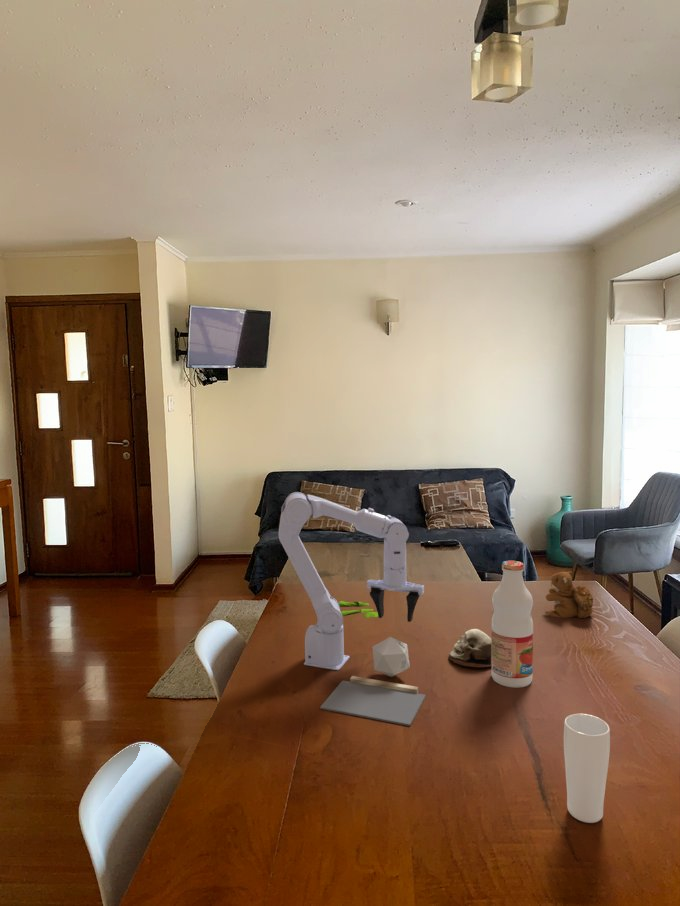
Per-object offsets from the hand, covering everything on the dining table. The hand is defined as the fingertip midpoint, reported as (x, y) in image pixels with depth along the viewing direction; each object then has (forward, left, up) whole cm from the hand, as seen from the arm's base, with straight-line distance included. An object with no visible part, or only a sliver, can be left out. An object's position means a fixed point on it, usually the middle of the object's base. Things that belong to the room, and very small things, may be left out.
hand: (395, 618), depth 154 cm
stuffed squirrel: (+41, +46, -11) cm, 63 cm away
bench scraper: (+2, -23, -10) cm, 26 cm away
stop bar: (+2, -16, -10) cm, 19 cm away
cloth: (-24, +29, -11) cm, 39 cm away
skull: (+19, +2, -12) cm, 23 cm away
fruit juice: (+29, -2, -11) cm, 31 cm away
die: (+2, -10, -11) cm, 15 cm away
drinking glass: (+45, -45, -11) cm, 65 cm away
